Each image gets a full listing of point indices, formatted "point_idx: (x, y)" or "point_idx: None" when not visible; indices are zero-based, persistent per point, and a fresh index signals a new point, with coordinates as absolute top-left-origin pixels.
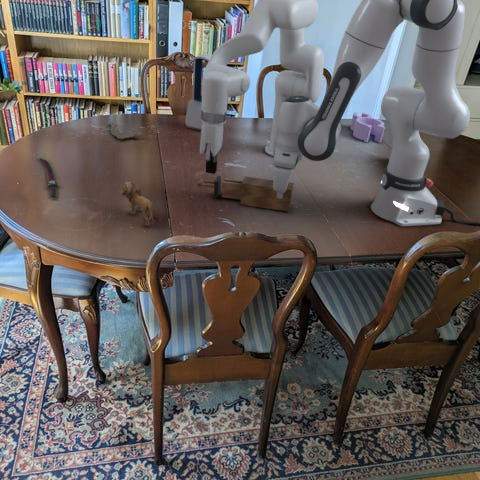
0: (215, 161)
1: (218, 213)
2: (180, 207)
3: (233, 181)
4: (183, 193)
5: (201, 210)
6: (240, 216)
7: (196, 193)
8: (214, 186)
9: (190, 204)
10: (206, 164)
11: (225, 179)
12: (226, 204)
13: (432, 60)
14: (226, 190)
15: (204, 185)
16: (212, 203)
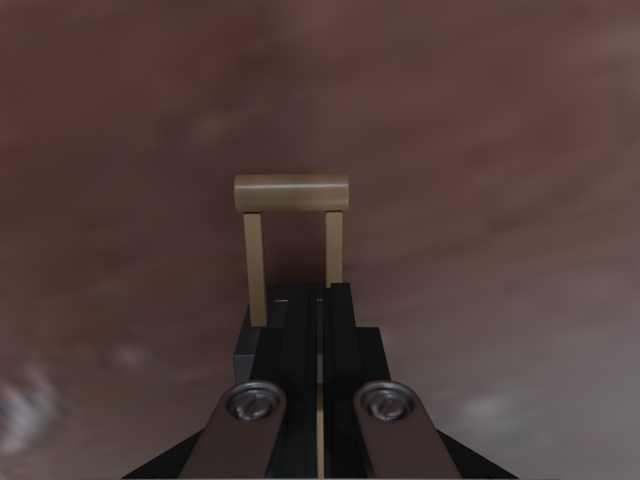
0: (328, 476)
1: (85, 351)
2: (8, 98)
3: (318, 473)
4: (236, 41)
5: (59, 250)
6: (122, 456)
7: (282, 143)
8: (241, 331)
9: (94, 155)
10: (284, 341)
11: (317, 423)
12: (219, 365)
13: None
14: None
15: (246, 241)
16: (188, 288)
